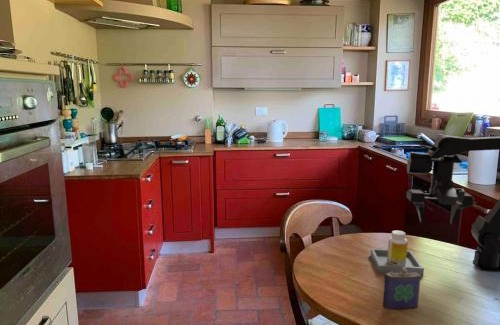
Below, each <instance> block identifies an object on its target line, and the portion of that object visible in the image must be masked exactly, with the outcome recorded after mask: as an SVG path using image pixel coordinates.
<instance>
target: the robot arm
mask: <svg viewBox="0 0 500 325" xmlns="http://www.w3.org/2000/svg"><path fill="white" fill-rule="evenodd" d="M498 150H500V136H484V137H479V136H478V137H464V136H463V137H462V136H458V135H447V134H442V135H441V134H440V135H439V136H438V137H437V138H435V140H434V143H433V145H432V146H431V147H430V148H429V149H428V150H427V151H426V152H425V153H423V152H422V153H421V152H415V151H410V152H409V157H408V160H407V161H406V162H407V163H406V172H407V174H413V175H414V174H415V175H424V176H425V175H428V174H430V173H431V176H430V180H431V181H430V182H431V184H430V188H428V193H427V192H426V193H424V191H422V190H421V189H410V188H409V189H408V190H407V191H406V196H405V197H406V199H407V200H409V201H410V202H411V203H413V205H414V206H415V208H416V211H417V214H418V219H419V222H420V223H423V221H424V207H425V205H426V204H425V203H424V201H425V200H430V201H431V200H433V201H437V202H438V203H439V204H440V205H441V206H444V205H450V206H451V210H450V217H449V223H450V225H453V224H454V223H455V222H456V220H457V218H458V216H459V215H460V213H461V212H462V211H463V210H464V209H465V208H469V207H470V206H475V197H474V196H473V195H471V194H470V193H468V192H466V191H465V189H464V188H454V180H453V175H454V166H455V163H456V164H462V163H463V161H462V160H461V159H460V157H458V155H460V154H464V153H467V152H473V151H498ZM471 226H472V227H471V229H470V230H471V231H470V232H471V234H472V237H473V238H474V239H475V241H476V242H477V243H478V244H479V245H477V246H476V247H477V248H476V250H475V251H474V255H473V256H474V257H473V260H472V263H473V264H474V265H475V266H476V267H477V268H479V269H480V271H483V272H484V271H486V272H500V198H498V200H497V201H496V203H495V205H493V207H492V208H491V210H490V211H489V213H487V214H486V215H485V216H484V217H482V216H481V215H478V216H477V217H476V220H475V221H474V222H473V223H472V224H471Z"/></svg>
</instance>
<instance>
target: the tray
mask: <svg viewBox="0 0 500 325" xmlns="http://www.w3.org/2000/svg"><path fill="white" fill-rule="evenodd" d="M387 255H388V248H387V249H384V248H370V258H371V260H372V262H373V264H374V266H375V269H376V271H377V273H378V274H381V275H383V274H384V275H385V274H386V273H390V272H393V273H395V272H397V273H399V272H400V271H402V270H403V269H402V267H405V268H406V269H407V273H411V272H417V273H419V274H420V275H421V277H424V274H425V273H424V271H425V268H424V267H423V265H422V264H421V262H420V261H419V260H418V258H417V256H416V255H415V254H414V253H413V251H412V250H407V255H406V264H405V265H404V266H394V265H391V264H389V263H388V261H387Z"/></svg>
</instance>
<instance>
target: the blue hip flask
mask: <svg viewBox="0 0 500 325" xmlns="http://www.w3.org/2000/svg"><path fill="white" fill-rule="evenodd" d="M402 269H403V270H402V271H400V272H399V273H397V272H395V273H393V272H390V273H386V274H384V286H383V288H384V289H383V301H382V307H383V309H385V310H391V311H402V310H404V311H405V310H415V309H417V308H418V306H419V297H420V289H421V288H420V287H421V279H422V276H421V275H420V274H419V273H417V272H411V273H407V269H406V268H405V267H402Z"/></svg>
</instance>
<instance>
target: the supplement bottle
mask: <svg viewBox="0 0 500 325" xmlns="http://www.w3.org/2000/svg"><path fill="white" fill-rule="evenodd" d="M408 241H409V240H408V239H407V238H406V232H404V230H403V231H402V230H392V231H391V236H390V237H388V242H387V243H388V244H387V249H388V255H387V261H388V263H389V264H391V265H394V266H404V265H405V264H406V255H407V251H408Z"/></svg>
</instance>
